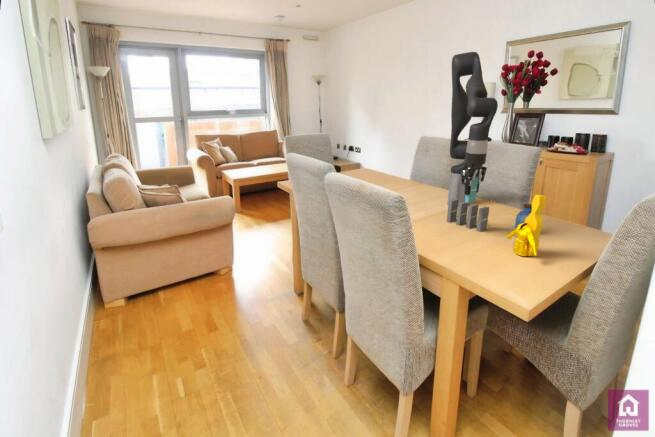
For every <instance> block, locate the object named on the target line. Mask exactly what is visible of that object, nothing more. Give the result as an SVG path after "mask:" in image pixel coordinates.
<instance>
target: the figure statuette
mask: <svg viewBox="0 0 655 437" xmlns="http://www.w3.org/2000/svg"><path fill="white" fill-rule="evenodd" d="M546 204H547V196H545V195H542V194H535V195H534V197H533V199H532V201H531V205H532V211H531V213H530V215H529V216H528V217H527V218H526V219H525V222H524V223H523V224H519V225H518V226H517V228H516V229H513V230H512V231H510V232H509V233H508V234H507V235H505V238H506V239H508V240H510V239H512V238H513V237H515V236H516V238H515V240H514V244H513V247H512V252H513V253H514V255H515V254H516V255H518V256H521V257H527V256H528V257H538V251H539V246H540V234H541V232H542V230H543V227H544V226H543V225H544V221H543V218H542V212H543V211H544V209H545V207H546Z"/></svg>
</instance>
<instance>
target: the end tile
mask: <svg viewBox="0 0 655 437" xmlns="http://www.w3.org/2000/svg"><path fill="white" fill-rule="evenodd" d="M469 178H472V177H469ZM469 181H470V180H469ZM477 185H478V177H475V179H474V181H472V184H471V192H470V195H466V196H465V202H466V203H468V204H469V203H474V202H475V201H477V200H476V199H477Z"/></svg>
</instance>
